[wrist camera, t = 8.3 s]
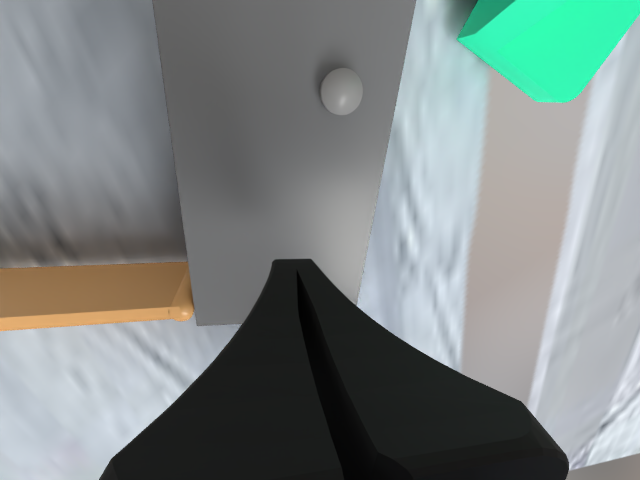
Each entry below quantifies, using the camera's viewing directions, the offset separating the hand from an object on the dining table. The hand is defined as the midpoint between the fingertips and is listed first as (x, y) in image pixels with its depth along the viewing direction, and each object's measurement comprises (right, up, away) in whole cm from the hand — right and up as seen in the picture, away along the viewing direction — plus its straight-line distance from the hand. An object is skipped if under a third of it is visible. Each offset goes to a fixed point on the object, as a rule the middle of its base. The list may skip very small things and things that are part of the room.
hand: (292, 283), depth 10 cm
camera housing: (-1, +6, +7) cm, 10 cm away
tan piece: (-13, -1, +8) cm, 15 cm away
